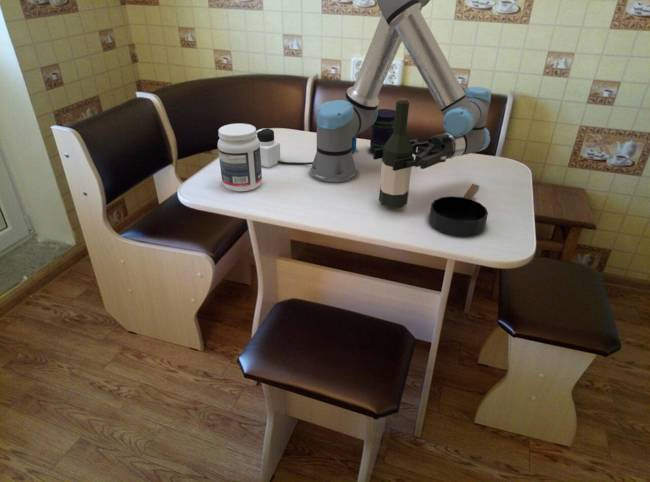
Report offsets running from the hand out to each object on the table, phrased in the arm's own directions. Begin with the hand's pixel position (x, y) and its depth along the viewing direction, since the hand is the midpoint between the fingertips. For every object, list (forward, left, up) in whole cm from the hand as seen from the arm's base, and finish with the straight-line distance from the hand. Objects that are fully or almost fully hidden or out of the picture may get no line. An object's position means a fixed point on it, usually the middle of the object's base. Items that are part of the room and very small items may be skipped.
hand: (383, 160), depth 125 cm
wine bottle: (+2, +4, -14) cm, 15 cm away
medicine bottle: (-49, +12, -16) cm, 53 cm away
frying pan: (+22, +10, -16) cm, 28 cm away
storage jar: (-18, +44, -16) cm, 50 cm away
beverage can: (-30, +38, -16) cm, 51 cm away
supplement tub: (-45, -7, -16) cm, 48 cm away
